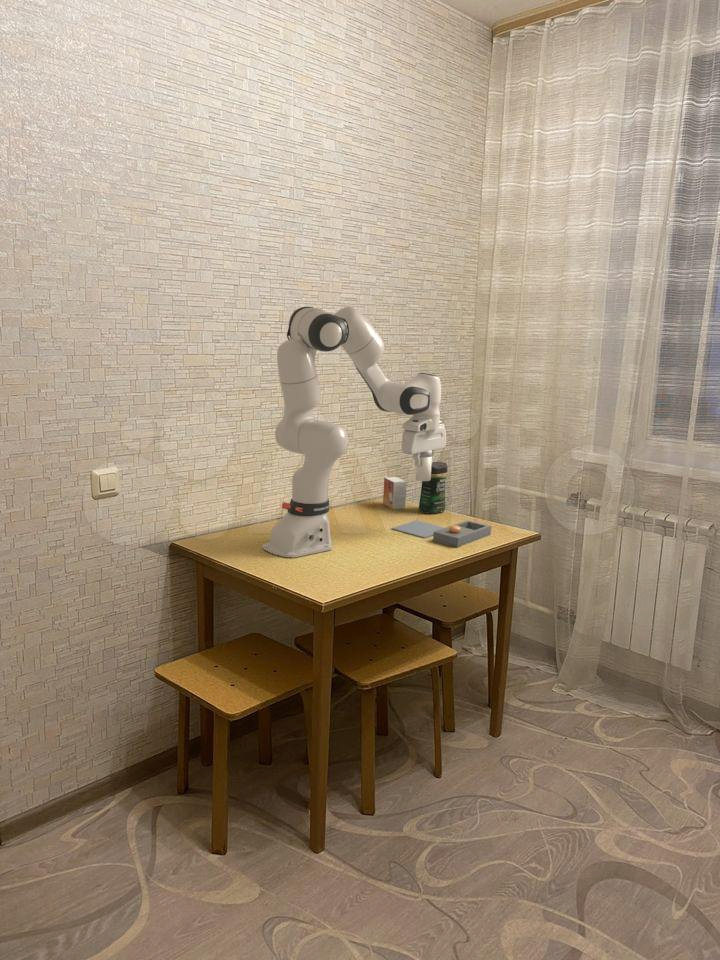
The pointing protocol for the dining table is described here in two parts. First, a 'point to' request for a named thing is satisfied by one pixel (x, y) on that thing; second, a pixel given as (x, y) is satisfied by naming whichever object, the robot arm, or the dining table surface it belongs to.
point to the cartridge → (424, 467)
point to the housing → (462, 533)
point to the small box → (394, 492)
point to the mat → (418, 528)
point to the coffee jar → (434, 490)
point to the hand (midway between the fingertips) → (423, 464)
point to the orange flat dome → (454, 529)
